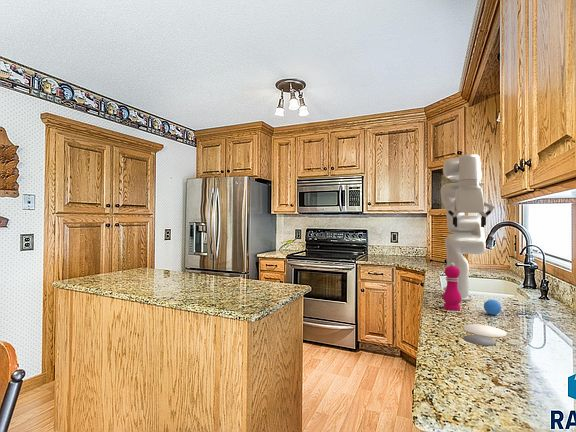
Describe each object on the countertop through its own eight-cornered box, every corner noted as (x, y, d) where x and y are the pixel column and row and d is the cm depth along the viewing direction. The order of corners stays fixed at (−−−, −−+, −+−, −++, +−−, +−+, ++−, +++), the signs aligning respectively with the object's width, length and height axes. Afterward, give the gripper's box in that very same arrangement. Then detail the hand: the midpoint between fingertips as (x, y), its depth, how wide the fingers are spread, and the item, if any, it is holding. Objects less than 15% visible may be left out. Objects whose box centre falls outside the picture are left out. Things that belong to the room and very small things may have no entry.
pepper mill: (457, 306, 145) (457, 261, 145) (464, 311, 138) (464, 263, 138) (440, 306, 146) (440, 261, 146) (446, 310, 139) (446, 263, 139)
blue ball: (480, 312, 136) (480, 298, 136) (492, 312, 137) (492, 297, 137) (492, 317, 130) (492, 302, 130) (504, 316, 131) (504, 301, 131)
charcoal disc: (457, 336, 107) (457, 335, 107) (480, 334, 109) (480, 334, 109) (478, 346, 99) (478, 346, 99) (503, 344, 100) (503, 344, 100)
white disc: (454, 325, 118) (454, 325, 118) (484, 323, 121) (484, 323, 121) (483, 338, 106) (483, 337, 106) (516, 335, 108) (516, 335, 108)
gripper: (491, 185, 133) (491, 227, 133) (444, 186, 140) (444, 226, 139) (496, 183, 126) (495, 227, 126) (446, 184, 133) (446, 226, 132)
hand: (469, 227), depth 133 cm, fingers open, 9 cm apart
